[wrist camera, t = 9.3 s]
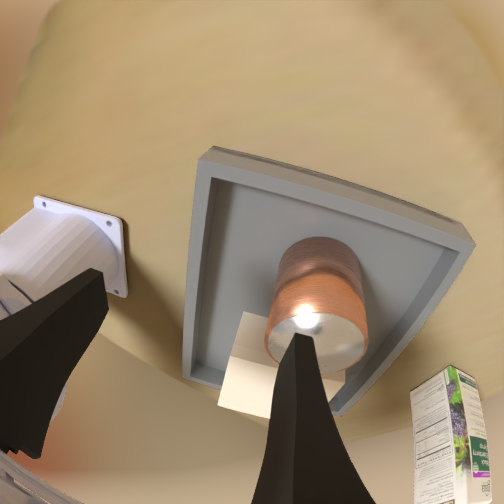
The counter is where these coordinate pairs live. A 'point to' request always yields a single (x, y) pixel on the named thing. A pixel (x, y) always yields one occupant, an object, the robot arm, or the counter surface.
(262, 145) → the counter surface
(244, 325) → the plain cream box
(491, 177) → the counter surface
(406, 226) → the tray
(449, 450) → the syrup box
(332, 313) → the tin can
